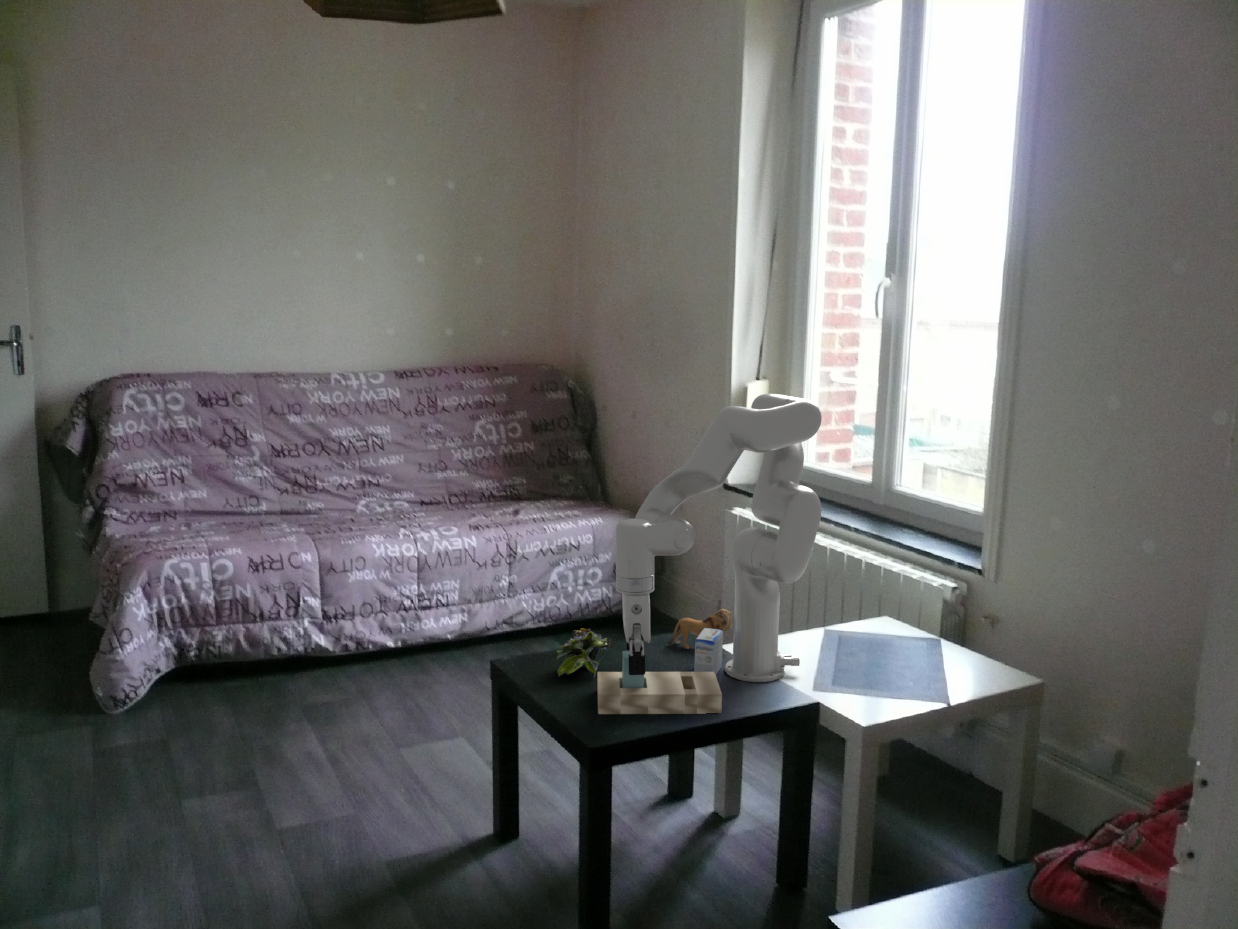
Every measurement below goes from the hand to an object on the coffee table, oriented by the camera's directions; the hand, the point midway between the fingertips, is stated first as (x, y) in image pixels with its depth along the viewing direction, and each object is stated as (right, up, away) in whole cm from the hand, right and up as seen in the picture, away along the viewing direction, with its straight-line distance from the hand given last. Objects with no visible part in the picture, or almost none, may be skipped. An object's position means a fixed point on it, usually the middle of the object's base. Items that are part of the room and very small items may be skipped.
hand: (635, 665), depth 213 cm
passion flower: (-11, -5, +16) cm, 20 cm away
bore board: (+4, -8, +1) cm, 9 cm away
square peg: (-1, -8, +1) cm, 8 cm away
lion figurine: (+16, -2, +34) cm, 37 cm away
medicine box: (+16, -5, +17) cm, 24 cm away
